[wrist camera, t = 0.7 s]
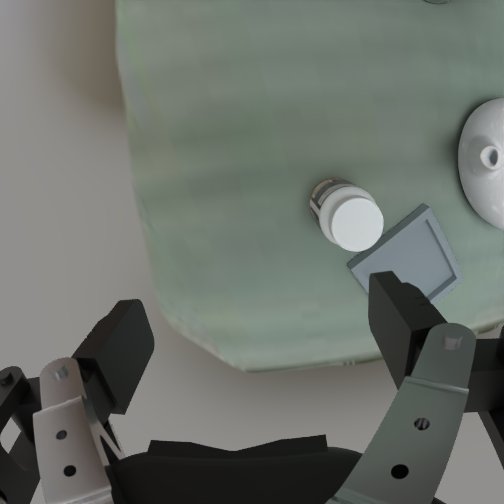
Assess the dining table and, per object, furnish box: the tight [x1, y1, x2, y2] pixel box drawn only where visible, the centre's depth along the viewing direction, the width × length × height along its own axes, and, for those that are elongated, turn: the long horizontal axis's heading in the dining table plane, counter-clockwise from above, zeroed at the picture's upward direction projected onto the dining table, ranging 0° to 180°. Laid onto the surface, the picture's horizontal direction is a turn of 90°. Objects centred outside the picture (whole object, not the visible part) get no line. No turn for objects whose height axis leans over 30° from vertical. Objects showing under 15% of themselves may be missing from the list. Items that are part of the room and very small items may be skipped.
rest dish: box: [347, 204, 464, 305], centre depth 37 cm, size 12×12×2 cm
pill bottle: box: [310, 178, 383, 252], centre depth 30 cm, size 6×6×10 cm
